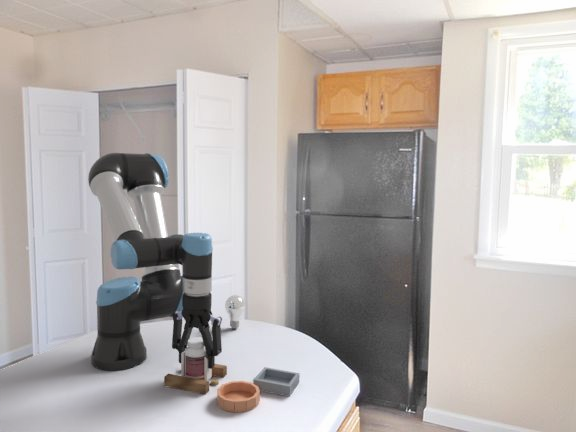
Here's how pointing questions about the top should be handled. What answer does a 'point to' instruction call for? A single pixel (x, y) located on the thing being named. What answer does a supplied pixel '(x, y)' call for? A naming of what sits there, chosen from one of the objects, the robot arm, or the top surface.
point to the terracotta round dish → (238, 396)
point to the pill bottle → (195, 358)
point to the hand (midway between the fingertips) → (196, 376)
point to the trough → (277, 381)
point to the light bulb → (235, 309)
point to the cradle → (195, 381)
